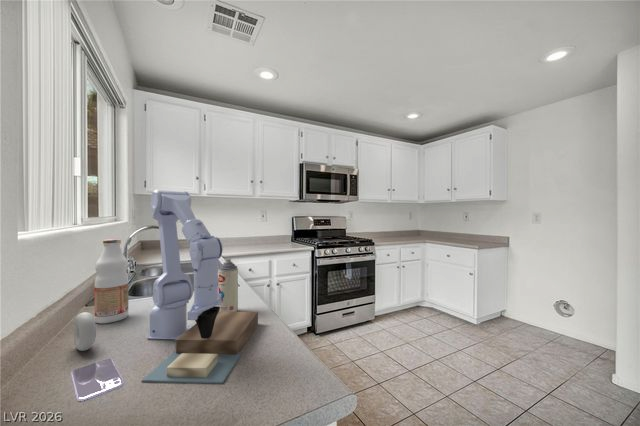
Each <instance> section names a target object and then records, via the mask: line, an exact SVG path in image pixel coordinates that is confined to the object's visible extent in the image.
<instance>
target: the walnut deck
mask: <svg viewBox="0 0 640 426" xmlns="http://www.w3.org/2000/svg"><path fill="white" fill-rule="evenodd" d="M258 325H259V312H258V311H238V312H218V314H217V316H216V319H215V322H214V327H213V331H212V335H211V337H210V338H201V335H200V332H199V328H198V325H197V323H196V322H195V324H194V325H192V326H190V327H191V328H190V329H189V330H187V331H186V332H185V333H184V334H182V335H181V336H180V337H179V338H177V339H175V352H176V354H182V353H196V354H229V355H237V353H241V350H242V349H243V347H244V345H245V344H246V343H247V341H248V340H249V338H250V337H251V336H252V333H253V332H254V330H256V328H257V326H258Z"/></svg>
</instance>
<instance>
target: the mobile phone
mask: <svg viewBox="0 0 640 426" xmlns="http://www.w3.org/2000/svg"><path fill="white" fill-rule="evenodd" d="M70 376H71V380H72V381H71V382H72V386H73V389H74V393H75V398H76V400H77V401H76V402H79V401H81V402H85V401H88V400H91V399H93V398H95V397H97V396H100V395H102V394H103V395H104V394H106V393H108V392H110V391H113V390H115V389H118V388H120V387H122V386H123V385H124V384H125V380H124V379H123V377H122V375H121V374H120V372H119V370H118V368H117V366H116V365H115V363H114V361H113V359H111V358H106V359H103V360H100V361H96V362H94V363H90V364H87V365H85V366H82V367H77V368H75V369H73V370H72V371H71V373H70ZM87 399H88V400H87ZM84 400H85V401H84Z"/></svg>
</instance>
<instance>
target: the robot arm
mask: <svg viewBox="0 0 640 426" xmlns="http://www.w3.org/2000/svg"><path fill="white" fill-rule="evenodd" d="M191 205H192V196H191V195H190V193H189V192H188V191H176V190H175V191H173V190H159V189H155V190H153V192H152V194H151V197H150V210H151V213H150V214H151V215H152V216H151V217H152V219H154V220H156V221H157V224H158V232H159V233H158V234H159V243H160V245H159V246H160V253H161V263H162V264H161V266H162V274H160V276H159V277H158V278H157V279H156V280H154V282H153V284H152V286H153V287H152V288H153V289H152V290H153V291H152V300H153V303H154V305H155V306H153V308H152V309H151V310H150V313H149V336H147V339H148V340H176V339H177V338H179V337H180V336H181V335H182V334H184V333H185V332H186V331H187V330H189V329H190V328H191V327H192V326H187V325H188V324H187V321H195V324H196V323H197V325H198V328H199V332H200V335H201V338H210V337H211V335H212V331H213V327H214V322H215V319H216V316H217V314H218V312H219V310H220V307H219V305H221V304H222V301H221V293H219V292H218V270H219V259H220V258H221V257H222V256H223V255H222V254H223V250H224V249H223V244H222V242H221V239H220V238H219V237H217V236H216V237H215V236H214V235H211V232H209V230H208V229H207V227H206V225H205V224H204V222H203V221H202V220H201V219H197V218H196V217H195V214H194V211H193V210H192V208H191ZM178 221H180V223H181V224H182V228H181V233H182V234H183V236H184V238H185V239H186V241H187V243H188V245H189V257H190V262H191V266H192V267H191V268H192V269H193V284H192V281H191V280H192V279H191V276H190V275H188V273H185V272H183V271H182V267H181V259H180V248H179V240H178V239H179V237H178V228H177V227H178V226H177V222H178ZM166 283H167V284H166ZM192 297H193V304H192V305H191V307H190V309H189V310H188V311H187V309H188V307H187V304H189V302H190V300H191V299H192Z"/></svg>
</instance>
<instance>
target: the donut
mask: <svg viewBox="0 0 640 426" xmlns="http://www.w3.org/2000/svg"><path fill="white" fill-rule="evenodd" d="M96 324H97V323H96V322H95V316H94V315H93V314H92V313H91V312H87V311H83V312H81V313H78V315H77V316H76V317H75V318H74V321H73V327H72V330H73V331H72V334H73V336H72V337H73V343H74V345H75V348H76V349H77V350H79V351H81V352H85V351H88V350H89V349H90V348H92V347H93V346H94V344H95V341H96V338H97V325H96Z"/></svg>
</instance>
